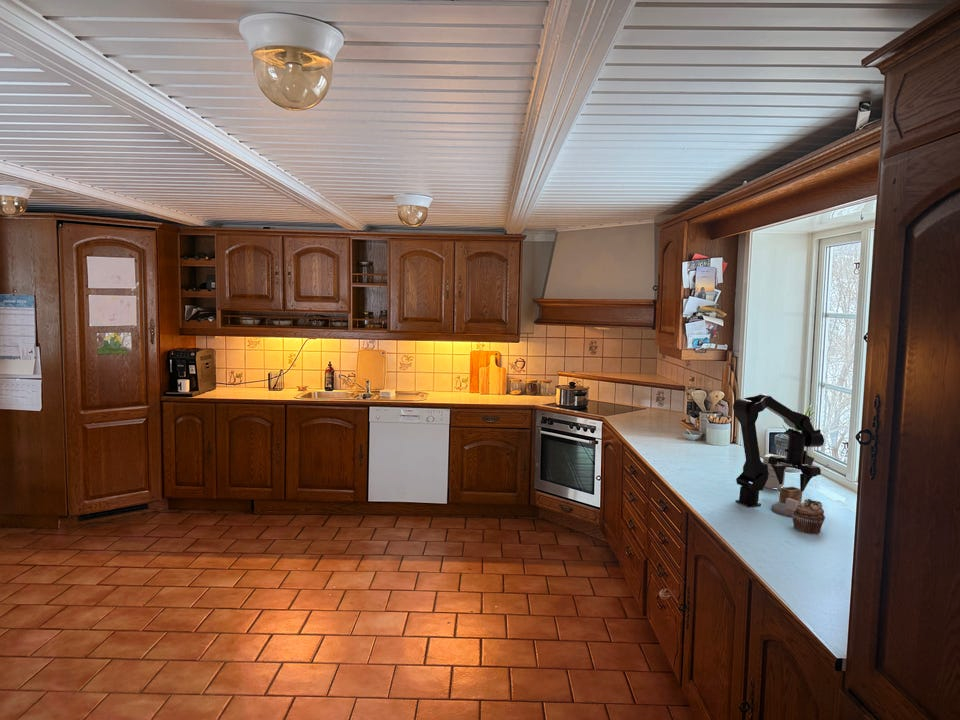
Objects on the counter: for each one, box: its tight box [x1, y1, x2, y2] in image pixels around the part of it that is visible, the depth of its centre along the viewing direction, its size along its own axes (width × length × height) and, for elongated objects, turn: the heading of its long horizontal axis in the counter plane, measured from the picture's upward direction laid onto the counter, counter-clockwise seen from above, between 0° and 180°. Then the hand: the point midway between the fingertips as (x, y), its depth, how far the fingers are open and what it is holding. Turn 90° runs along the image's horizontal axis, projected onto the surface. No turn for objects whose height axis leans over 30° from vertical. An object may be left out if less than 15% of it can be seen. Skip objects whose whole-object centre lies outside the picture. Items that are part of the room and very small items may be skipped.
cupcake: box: [792, 498, 826, 535], centre depth 216 cm, size 10×10×10 cm
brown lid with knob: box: [771, 498, 800, 518], centre depth 235 cm, size 13×13×4 cm
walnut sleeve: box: [778, 486, 804, 504], centre depth 248 cm, size 7×4×5 cm, turn 117°
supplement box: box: [762, 453, 787, 489], centre depth 268 cm, size 7×7×13 cm
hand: (791, 487), depth 248 cm, fingers open, 9 cm apart
